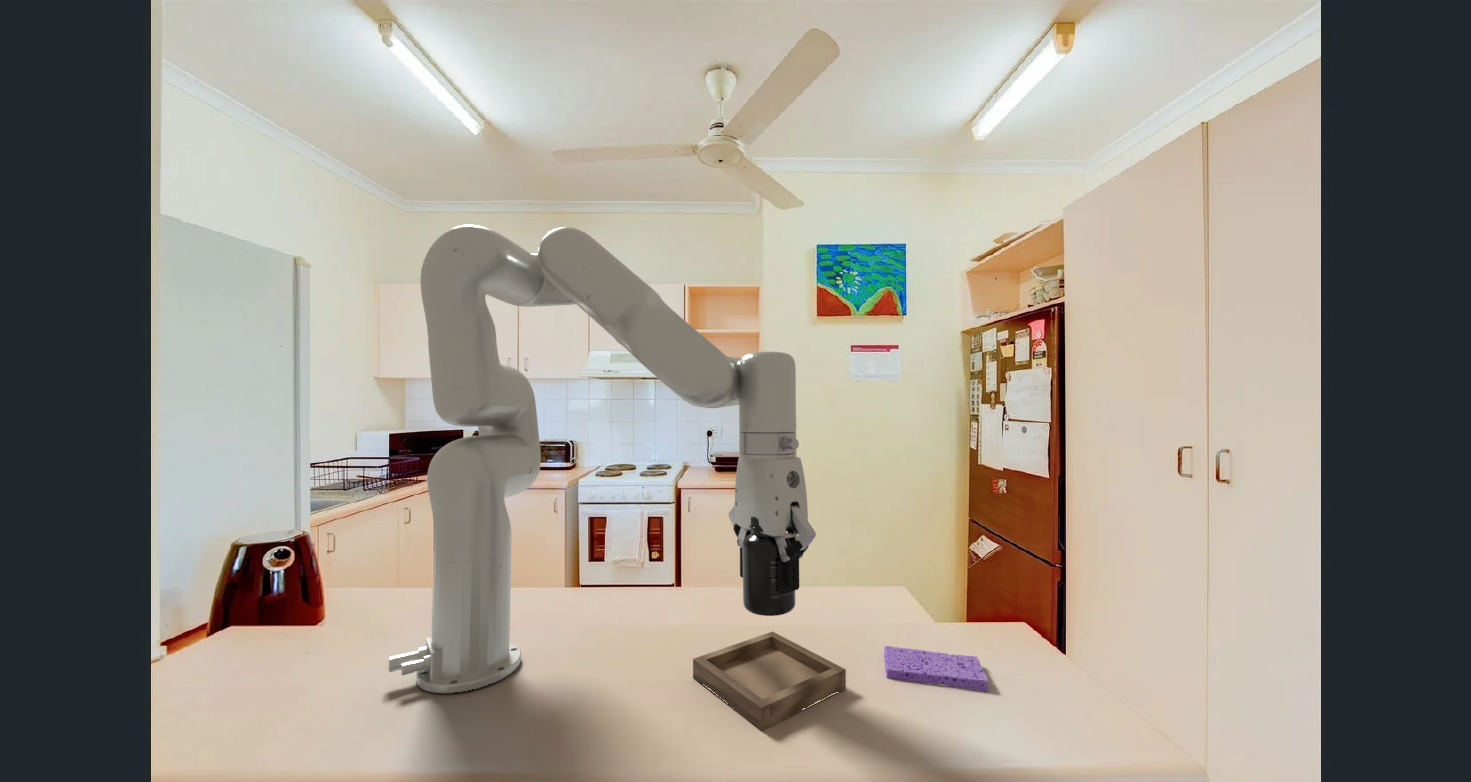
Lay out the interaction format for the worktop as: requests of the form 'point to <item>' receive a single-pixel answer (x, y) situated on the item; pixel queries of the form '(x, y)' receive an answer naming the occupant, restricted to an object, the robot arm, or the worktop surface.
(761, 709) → the walnut tray
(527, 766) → the worktop surface
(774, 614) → the supplement bottle
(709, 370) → the robot arm
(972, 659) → the sponges
